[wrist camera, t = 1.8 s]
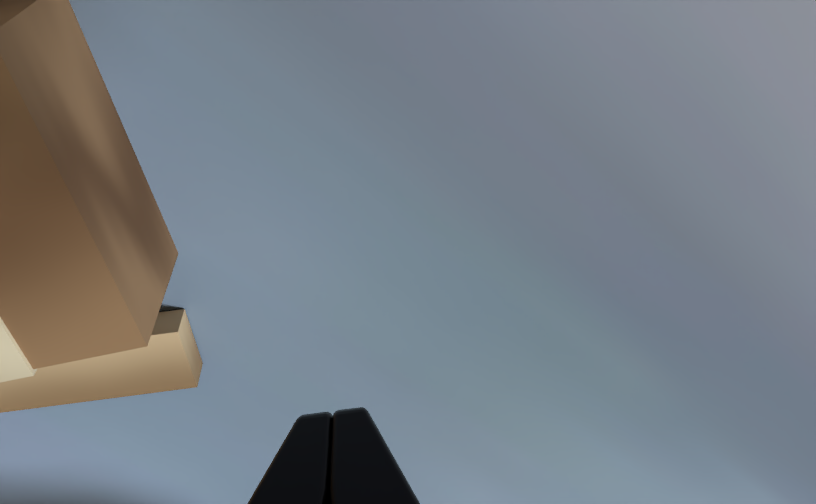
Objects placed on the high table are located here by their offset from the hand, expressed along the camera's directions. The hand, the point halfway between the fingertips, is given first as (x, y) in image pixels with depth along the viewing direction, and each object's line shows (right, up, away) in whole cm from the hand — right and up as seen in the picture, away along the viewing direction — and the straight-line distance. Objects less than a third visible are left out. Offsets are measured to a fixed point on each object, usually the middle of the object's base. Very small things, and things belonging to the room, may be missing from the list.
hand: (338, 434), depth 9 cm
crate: (-9, +5, +8) cm, 13 cm away
